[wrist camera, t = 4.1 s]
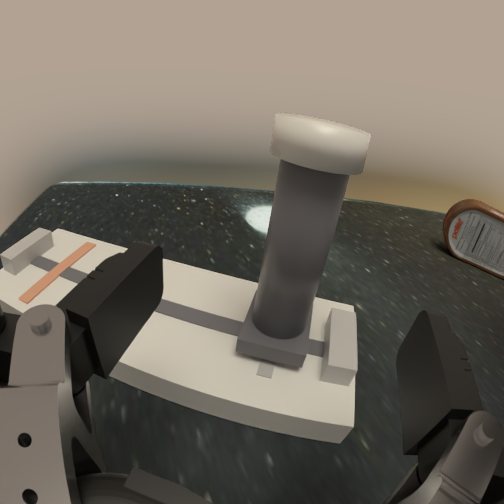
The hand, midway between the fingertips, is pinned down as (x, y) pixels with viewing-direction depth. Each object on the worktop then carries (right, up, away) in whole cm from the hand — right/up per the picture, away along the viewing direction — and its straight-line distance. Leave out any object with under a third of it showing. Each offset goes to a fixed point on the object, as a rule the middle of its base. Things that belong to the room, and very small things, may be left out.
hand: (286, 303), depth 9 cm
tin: (+30, -1, +26) cm, 40 cm away
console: (-8, -3, +11) cm, 14 cm away
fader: (0, -3, +9) cm, 9 cm away
